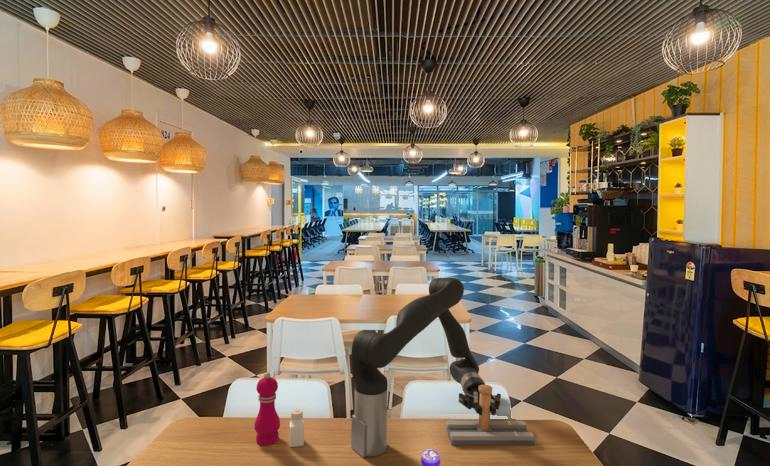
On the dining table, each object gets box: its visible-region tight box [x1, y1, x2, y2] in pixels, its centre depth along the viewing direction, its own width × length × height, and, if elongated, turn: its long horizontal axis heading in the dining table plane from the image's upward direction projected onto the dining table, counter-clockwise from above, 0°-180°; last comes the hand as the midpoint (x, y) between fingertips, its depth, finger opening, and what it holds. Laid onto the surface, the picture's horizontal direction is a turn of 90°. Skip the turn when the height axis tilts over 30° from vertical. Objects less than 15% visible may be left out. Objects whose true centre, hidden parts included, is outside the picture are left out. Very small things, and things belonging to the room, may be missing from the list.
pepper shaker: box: [289, 408, 305, 448], centre depth 123 cm, size 4×4×10 cm
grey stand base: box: [446, 420, 536, 446], centre depth 128 cm, size 24×9×3 cm, turn 91°
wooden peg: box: [477, 384, 493, 432], centre depth 128 cm, size 4×4×14 cm
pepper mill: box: [254, 372, 281, 446], centre depth 125 cm, size 7×7×20 cm
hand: (487, 412), depth 125 cm, fingers closed on wooden peg, 3 cm apart
